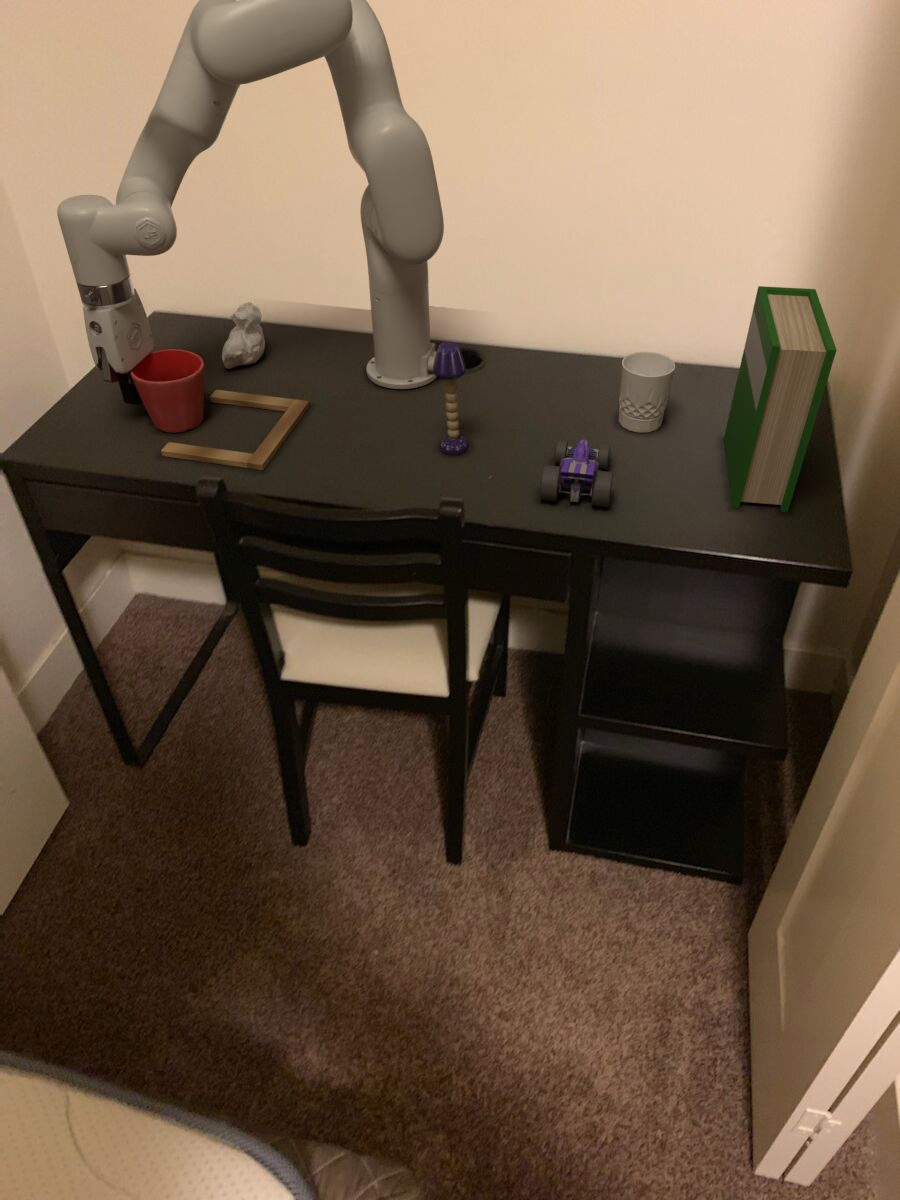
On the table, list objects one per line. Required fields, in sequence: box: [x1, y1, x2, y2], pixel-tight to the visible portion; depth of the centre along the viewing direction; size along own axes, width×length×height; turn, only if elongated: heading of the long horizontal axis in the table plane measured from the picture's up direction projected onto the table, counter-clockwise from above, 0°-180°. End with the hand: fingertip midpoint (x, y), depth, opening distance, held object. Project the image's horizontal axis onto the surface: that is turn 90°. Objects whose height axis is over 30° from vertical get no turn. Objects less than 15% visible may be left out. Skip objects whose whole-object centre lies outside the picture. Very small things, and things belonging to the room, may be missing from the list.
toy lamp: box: [434, 341, 469, 456], centre depth 130 cm, size 5×5×17 cm
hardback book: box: [723, 285, 838, 513], centre depth 121 cm, size 18×7×24 cm, turn 171°
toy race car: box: [539, 438, 614, 508], centre depth 126 cm, size 10×15×6 cm, turn 168°
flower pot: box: [130, 348, 205, 434], centre depth 139 cm, size 11×11×10 cm
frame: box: [160, 389, 311, 471], centre depth 140 cm, size 16×19×1 cm
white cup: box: [618, 351, 676, 434], centre depth 137 cm, size 8×8×10 cm
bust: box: [221, 301, 266, 370], centre depth 154 cm, size 12×8×11 cm
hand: (136, 401), depth 141 cm, fingers closed
